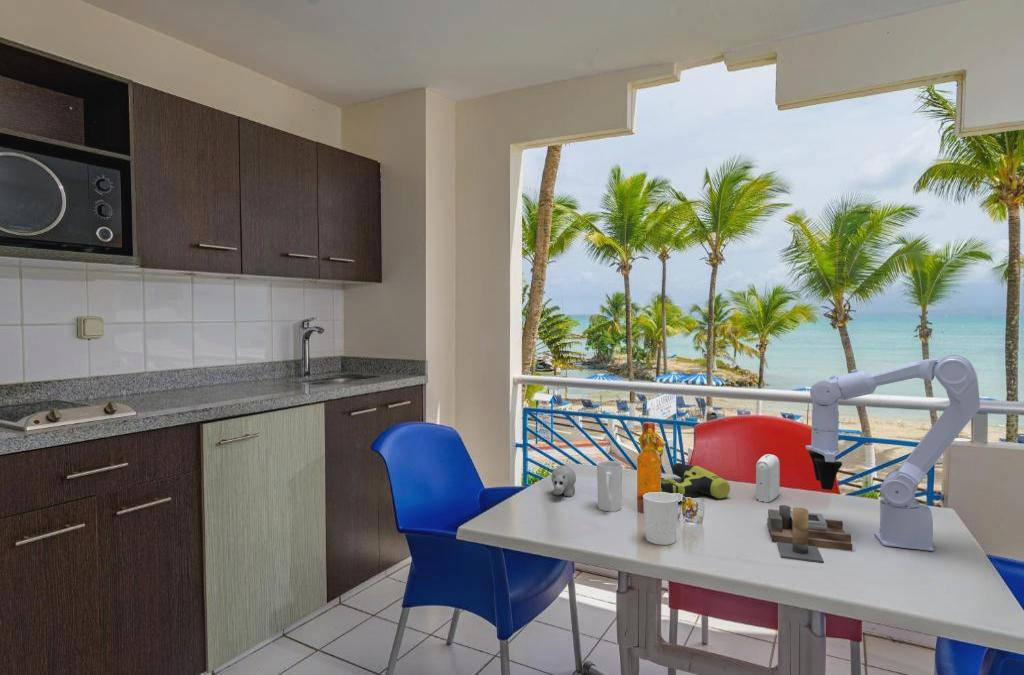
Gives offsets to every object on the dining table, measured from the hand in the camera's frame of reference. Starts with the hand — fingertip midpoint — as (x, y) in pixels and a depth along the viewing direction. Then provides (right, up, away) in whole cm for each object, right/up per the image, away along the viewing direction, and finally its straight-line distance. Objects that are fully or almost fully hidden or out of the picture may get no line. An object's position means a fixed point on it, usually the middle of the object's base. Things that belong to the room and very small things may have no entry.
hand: (823, 484), depth 135 cm
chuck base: (-7, -11, -6) cm, 14 cm away
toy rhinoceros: (-62, -11, +26) cm, 68 cm away
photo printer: (-3, -10, +24) cm, 26 cm away
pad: (-14, -11, -15) cm, 23 cm away
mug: (-50, -11, +14) cm, 53 cm away
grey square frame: (-7, -9, -6) cm, 13 cm away
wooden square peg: (-14, -10, -15) cm, 23 cm away
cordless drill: (-28, -11, +30) cm, 43 cm away
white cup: (-42, -11, -7) cm, 44 cm away
